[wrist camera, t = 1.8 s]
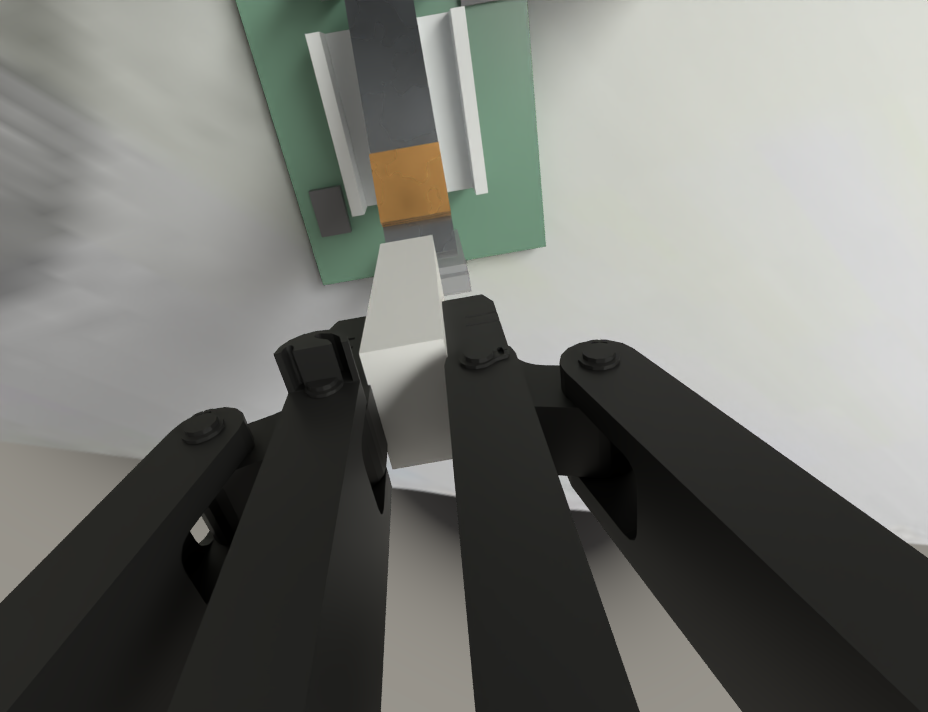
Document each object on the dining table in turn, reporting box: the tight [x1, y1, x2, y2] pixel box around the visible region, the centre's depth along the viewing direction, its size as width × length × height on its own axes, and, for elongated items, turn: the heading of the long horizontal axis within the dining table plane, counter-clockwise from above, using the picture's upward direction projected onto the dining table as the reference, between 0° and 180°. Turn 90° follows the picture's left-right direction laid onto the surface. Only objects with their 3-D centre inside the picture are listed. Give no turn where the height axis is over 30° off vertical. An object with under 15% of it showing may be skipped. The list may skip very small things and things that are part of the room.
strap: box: [344, 0, 458, 260], centre depth 23 cm, size 15×4×2 cm
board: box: [236, 0, 546, 296], centre depth 29 cm, size 20×16×10 cm
